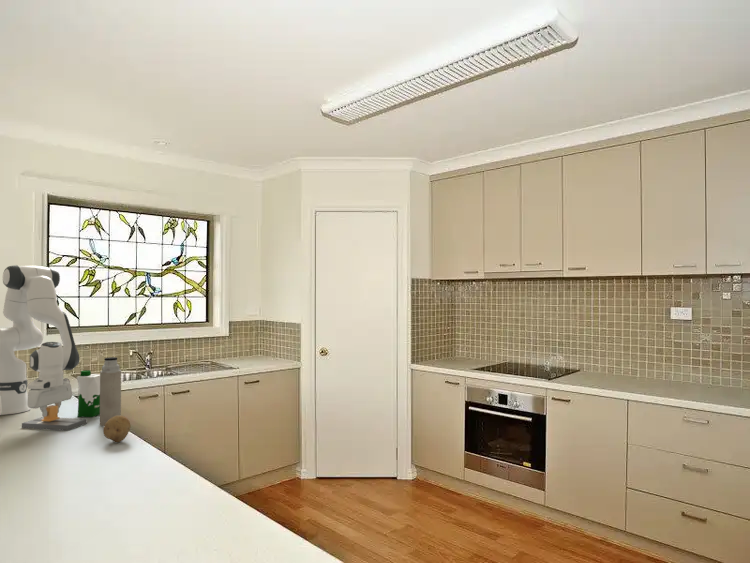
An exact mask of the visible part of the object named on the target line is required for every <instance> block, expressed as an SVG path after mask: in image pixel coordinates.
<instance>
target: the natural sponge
mask: <svg viewBox="0 0 750 563" xmlns="http://www.w3.org/2000/svg"><path fill="white" fill-rule="evenodd" d="M131 425H132V424H131V422H130V420H129V418H127V417H126V416H124V415H121V416H114V417H112V418H111V419H109V420H108V421H107V422H106V424H105V426H103V436H104V437H105V438H107V439H108V440H112V442H114V443H117V444H118V443H121V442H122V441H124V440H125V438H127V436H128V435H129V433H130V430H131Z"/></svg>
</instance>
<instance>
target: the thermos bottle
mask: <svg viewBox="0 0 750 563" xmlns="http://www.w3.org/2000/svg"><path fill="white" fill-rule="evenodd" d="M103 359H104V364H103V365H102V366H101V370H100V372H99V374H100V414H99V426H100V427H104V426H105V424H106V422H107V421H108V420H109V419H111V418H112V417H114V416H122V370H121V369H120V364H118V357H117V356H115V357H114V356H112V357H111V356H109V357H104V358H103Z"/></svg>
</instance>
